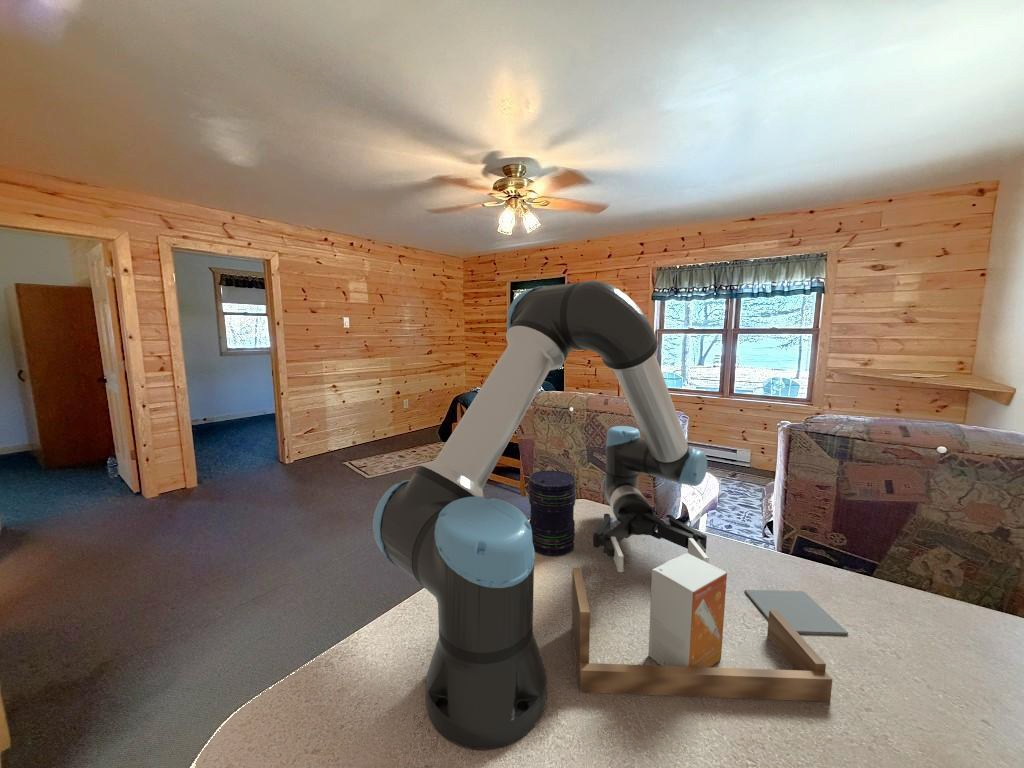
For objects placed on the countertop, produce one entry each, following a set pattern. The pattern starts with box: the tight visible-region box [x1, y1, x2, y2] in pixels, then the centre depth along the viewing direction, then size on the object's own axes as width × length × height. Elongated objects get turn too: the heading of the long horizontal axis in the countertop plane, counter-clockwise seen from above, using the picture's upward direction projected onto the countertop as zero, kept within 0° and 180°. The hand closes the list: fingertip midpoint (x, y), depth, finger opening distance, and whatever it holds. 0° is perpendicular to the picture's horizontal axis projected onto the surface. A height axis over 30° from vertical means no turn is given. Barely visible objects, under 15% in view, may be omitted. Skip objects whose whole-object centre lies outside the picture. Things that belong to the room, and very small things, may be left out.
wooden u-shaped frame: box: [571, 567, 833, 703], centre depth 55 cm, size 30×11×10 cm, turn 87°
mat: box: [744, 589, 849, 636], centre depth 66 cm, size 10×10×1 cm
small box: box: [648, 552, 728, 667], centre depth 56 cm, size 8×6×13 cm
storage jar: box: [528, 469, 576, 558], centre depth 87 cm, size 10×10×15 cm
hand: (663, 565), depth 66 cm, fingers open, 13 cm apart
